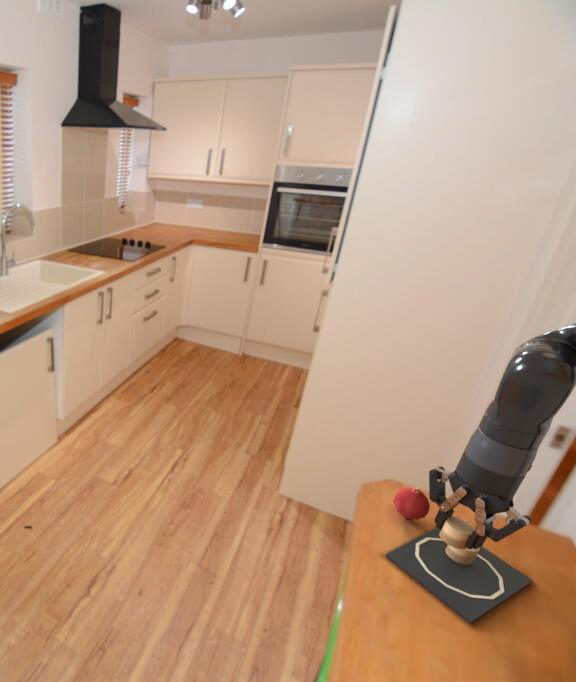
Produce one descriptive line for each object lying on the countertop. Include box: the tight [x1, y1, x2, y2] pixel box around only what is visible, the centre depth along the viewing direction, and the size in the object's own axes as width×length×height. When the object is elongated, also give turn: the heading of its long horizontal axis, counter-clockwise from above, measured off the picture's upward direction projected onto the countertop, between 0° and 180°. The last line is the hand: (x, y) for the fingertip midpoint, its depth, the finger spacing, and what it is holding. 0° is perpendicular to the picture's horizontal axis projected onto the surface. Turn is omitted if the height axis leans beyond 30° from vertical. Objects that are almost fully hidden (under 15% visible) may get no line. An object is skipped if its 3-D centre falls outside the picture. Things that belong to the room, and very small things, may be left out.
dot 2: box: [445, 545, 480, 565], centre depth 83 cm, size 4×4×4 cm
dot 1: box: [439, 515, 476, 549], centre depth 78 cm, size 4×4×4 cm
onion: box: [392, 487, 431, 521], centre depth 92 cm, size 6×6×8 cm
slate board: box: [385, 527, 534, 625], centre depth 82 cm, size 14×18×1 cm
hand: (455, 536), depth 79 cm, fingers closed on dot 1, 4 cm apart
